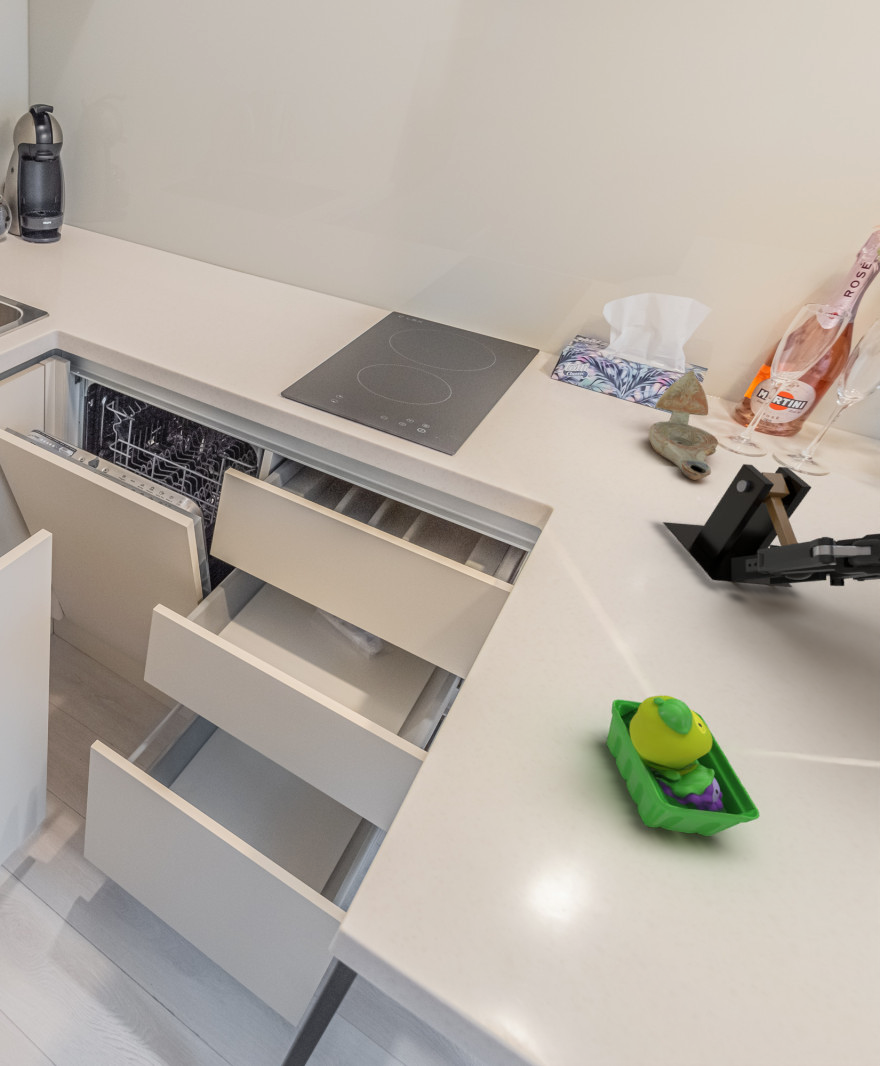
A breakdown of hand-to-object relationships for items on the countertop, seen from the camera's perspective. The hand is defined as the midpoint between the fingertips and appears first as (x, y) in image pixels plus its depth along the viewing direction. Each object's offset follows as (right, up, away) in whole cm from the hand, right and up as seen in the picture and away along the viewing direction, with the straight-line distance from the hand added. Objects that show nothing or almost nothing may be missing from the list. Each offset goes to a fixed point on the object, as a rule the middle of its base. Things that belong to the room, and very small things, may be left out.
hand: (754, 571), depth 90 cm
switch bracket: (+1, +1, +6) cm, 6 cm away
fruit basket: (-29, -19, -22) cm, 41 cm away
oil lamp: (+11, +16, +27) cm, 33 cm away
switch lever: (0, +4, -2) cm, 5 cm away
